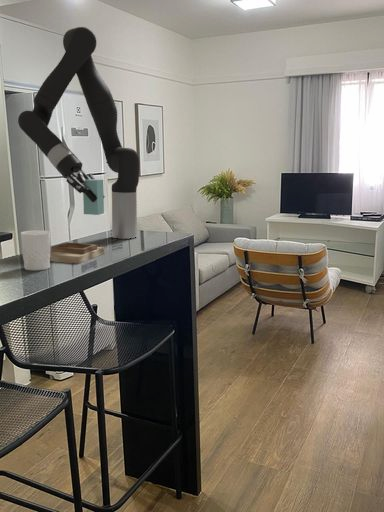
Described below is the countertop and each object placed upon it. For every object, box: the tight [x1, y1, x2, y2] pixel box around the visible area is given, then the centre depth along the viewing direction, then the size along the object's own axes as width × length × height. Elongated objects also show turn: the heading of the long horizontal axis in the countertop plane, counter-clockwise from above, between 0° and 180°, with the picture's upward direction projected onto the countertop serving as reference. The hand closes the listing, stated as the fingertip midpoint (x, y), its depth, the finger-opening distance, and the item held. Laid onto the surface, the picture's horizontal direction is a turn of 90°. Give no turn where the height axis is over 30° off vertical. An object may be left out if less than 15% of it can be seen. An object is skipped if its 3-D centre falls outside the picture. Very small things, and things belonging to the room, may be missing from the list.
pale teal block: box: [82, 178, 105, 216], centre depth 165 cm, size 4×5×11 cm
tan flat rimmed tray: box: [50, 242, 105, 265], centre depth 156 cm, size 16×12×4 cm
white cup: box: [20, 229, 52, 271], centre depth 140 cm, size 8×8×10 cm
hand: (98, 199), depth 165 cm, fingers closed on pale teal block, 4 cm apart
